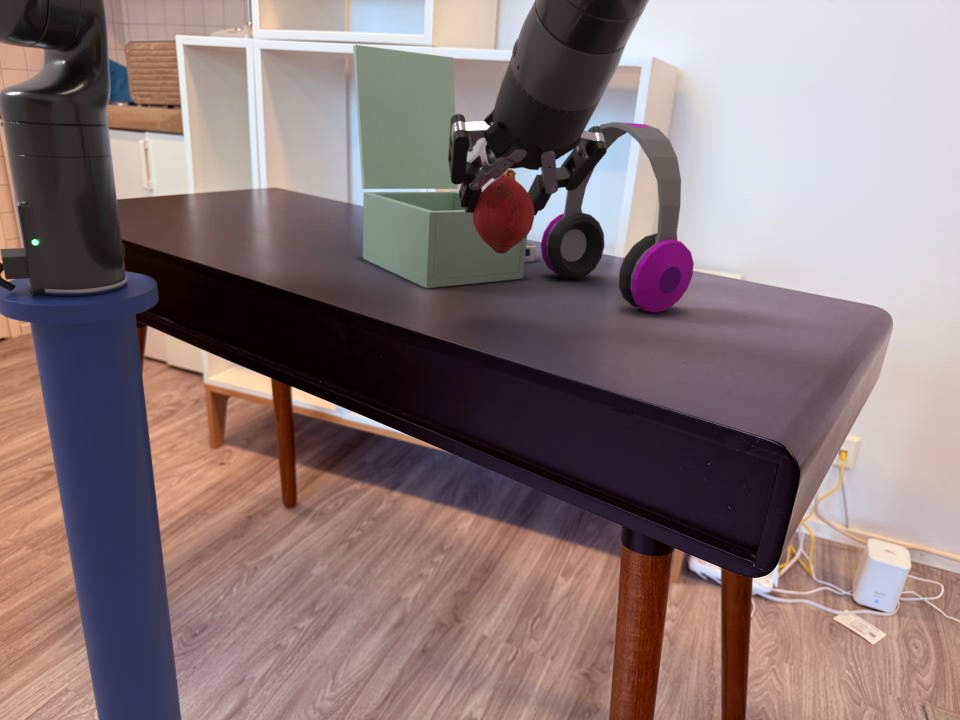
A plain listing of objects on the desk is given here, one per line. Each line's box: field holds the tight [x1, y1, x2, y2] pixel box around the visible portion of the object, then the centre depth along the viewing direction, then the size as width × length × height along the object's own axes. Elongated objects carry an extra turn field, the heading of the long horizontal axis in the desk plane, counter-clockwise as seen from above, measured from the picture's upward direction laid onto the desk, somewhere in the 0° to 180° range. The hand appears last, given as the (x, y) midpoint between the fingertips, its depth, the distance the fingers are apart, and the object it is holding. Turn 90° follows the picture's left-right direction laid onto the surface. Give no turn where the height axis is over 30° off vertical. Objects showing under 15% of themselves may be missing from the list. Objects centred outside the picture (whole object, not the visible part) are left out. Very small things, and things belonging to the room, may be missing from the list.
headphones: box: [540, 121, 695, 313], centre depth 79 cm, size 21×9×20 cm, turn 28°
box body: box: [362, 191, 528, 289], centre depth 87 cm, size 17×15×9 cm
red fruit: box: [473, 168, 535, 254], centre depth 63 cm, size 6×6×8 cm
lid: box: [352, 44, 459, 190], centre depth 91 cm, size 18×15×4 cm
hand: (499, 206), depth 65 cm, fingers closed on red fruit, 5 cm apart
